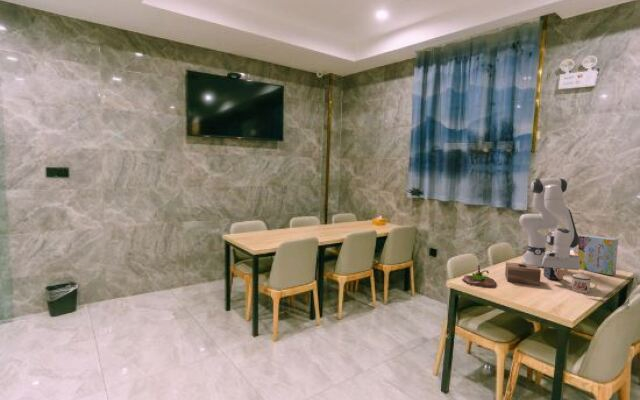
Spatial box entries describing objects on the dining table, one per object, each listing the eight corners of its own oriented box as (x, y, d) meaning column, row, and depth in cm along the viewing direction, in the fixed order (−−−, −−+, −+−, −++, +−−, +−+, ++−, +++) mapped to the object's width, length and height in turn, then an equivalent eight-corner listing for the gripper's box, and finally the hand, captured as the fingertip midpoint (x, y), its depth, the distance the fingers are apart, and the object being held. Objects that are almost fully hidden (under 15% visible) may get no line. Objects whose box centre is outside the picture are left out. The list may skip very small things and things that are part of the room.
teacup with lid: (570, 291, 213) (571, 272, 212) (572, 287, 220) (573, 269, 219) (595, 295, 205) (597, 276, 205) (596, 292, 212) (598, 273, 212)
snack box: (616, 274, 254) (619, 238, 253) (611, 276, 250) (614, 240, 248) (580, 267, 272) (583, 234, 271) (576, 269, 267) (578, 235, 266)
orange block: (556, 276, 232) (556, 268, 231) (560, 276, 231) (561, 269, 230) (558, 278, 227) (558, 271, 227) (562, 279, 226) (563, 271, 226)
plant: (494, 280, 232) (495, 264, 231) (498, 289, 214) (499, 271, 213) (461, 277, 239) (462, 261, 238) (462, 285, 221) (463, 267, 220)
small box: (560, 280, 235) (561, 265, 234) (549, 280, 236) (550, 264, 235) (553, 276, 245) (554, 261, 244) (542, 275, 246) (543, 260, 246)
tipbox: (505, 276, 242) (506, 262, 241) (535, 279, 235) (536, 265, 235) (507, 282, 229) (508, 266, 228) (539, 285, 222) (540, 270, 222)
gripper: (579, 254, 227) (577, 275, 228) (542, 251, 234) (540, 271, 236) (582, 256, 221) (580, 278, 222) (544, 253, 228) (542, 274, 230)
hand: (559, 275), depth 229 cm, fingers closed on orange block, 2 cm apart
